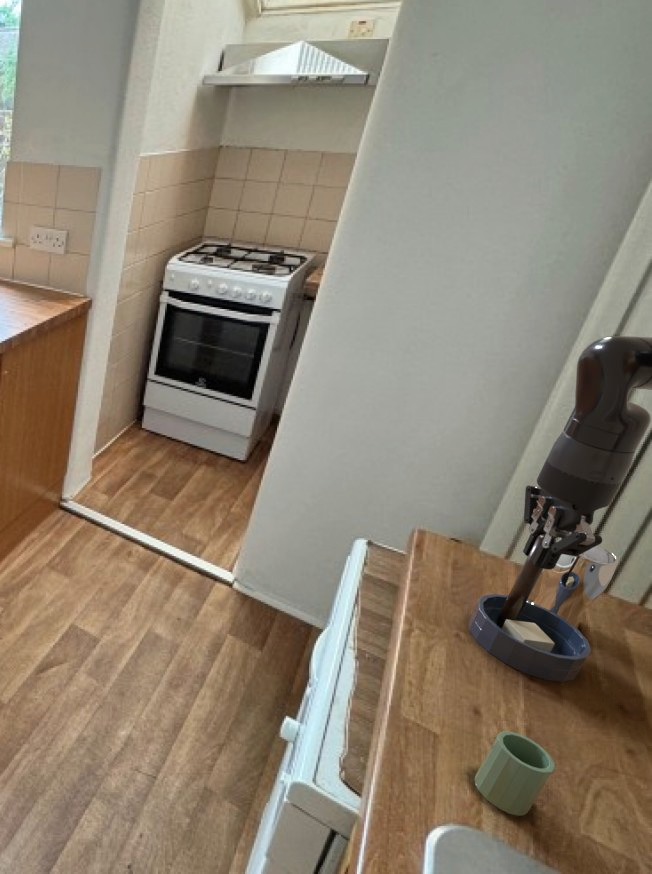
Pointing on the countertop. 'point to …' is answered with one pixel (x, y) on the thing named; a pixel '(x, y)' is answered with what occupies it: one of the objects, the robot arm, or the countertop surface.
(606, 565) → the beer glass
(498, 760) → the pot
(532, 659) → the bowl
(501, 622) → the stir stick
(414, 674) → the countertop surface
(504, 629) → the block
